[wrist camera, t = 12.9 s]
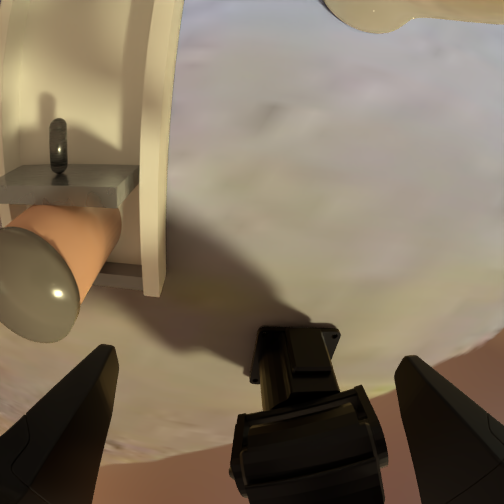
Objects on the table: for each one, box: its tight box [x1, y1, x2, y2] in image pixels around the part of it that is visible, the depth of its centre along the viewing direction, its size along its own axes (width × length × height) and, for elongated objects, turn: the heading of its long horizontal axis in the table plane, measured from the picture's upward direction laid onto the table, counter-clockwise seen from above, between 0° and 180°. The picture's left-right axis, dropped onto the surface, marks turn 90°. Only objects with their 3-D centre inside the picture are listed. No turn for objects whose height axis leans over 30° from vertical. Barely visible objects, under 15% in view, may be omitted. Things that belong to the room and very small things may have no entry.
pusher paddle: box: [0, 118, 140, 208], centre depth 14 cm, size 4×8×4 cm, turn 83°
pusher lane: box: [0, 0, 184, 297], centre depth 13 cm, size 20×11×6 cm, turn 173°
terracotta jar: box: [0, 205, 122, 343], centre depth 15 cm, size 6×6×8 cm
